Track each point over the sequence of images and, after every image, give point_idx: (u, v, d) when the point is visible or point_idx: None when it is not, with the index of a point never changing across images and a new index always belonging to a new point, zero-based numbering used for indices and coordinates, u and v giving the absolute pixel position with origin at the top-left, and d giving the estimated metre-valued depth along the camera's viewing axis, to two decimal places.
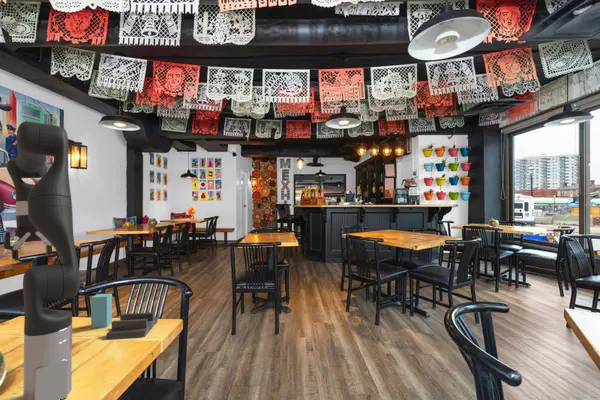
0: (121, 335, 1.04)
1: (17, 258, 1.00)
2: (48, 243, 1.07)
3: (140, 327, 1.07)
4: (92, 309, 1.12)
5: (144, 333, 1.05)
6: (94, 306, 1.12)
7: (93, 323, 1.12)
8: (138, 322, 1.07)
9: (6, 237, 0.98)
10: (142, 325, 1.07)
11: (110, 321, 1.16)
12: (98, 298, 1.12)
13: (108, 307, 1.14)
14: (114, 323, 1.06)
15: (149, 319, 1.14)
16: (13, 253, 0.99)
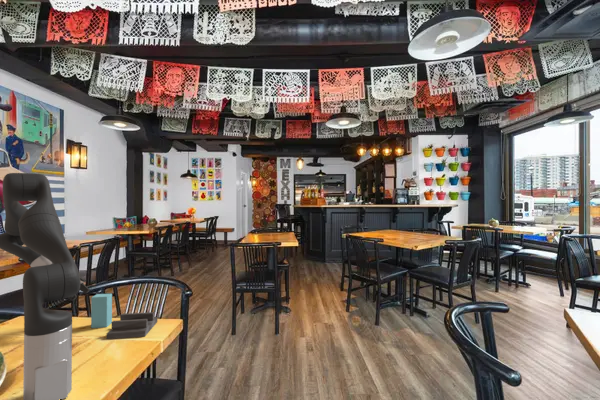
0: (121, 335, 1.04)
1: (75, 295, 1.09)
2: (81, 282, 1.17)
3: (140, 327, 1.07)
4: (92, 309, 1.12)
5: (144, 333, 1.05)
6: (94, 306, 1.12)
7: (93, 323, 1.12)
8: (138, 322, 1.07)
9: None
10: (142, 325, 1.07)
11: (110, 321, 1.16)
12: (98, 298, 1.12)
13: (108, 307, 1.14)
14: (114, 323, 1.06)
15: (149, 319, 1.14)
16: None
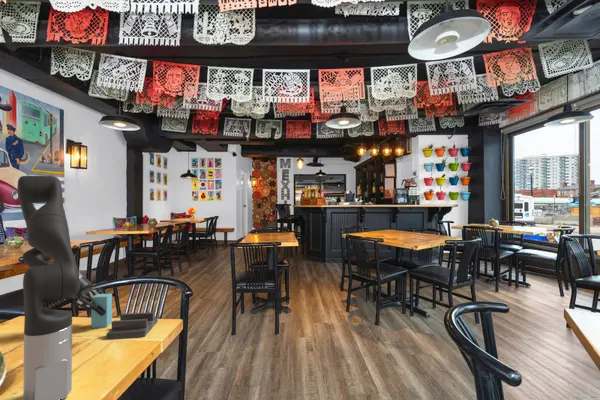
0: (121, 335, 1.04)
1: (104, 310, 1.12)
2: None
3: (140, 327, 1.07)
4: None
5: (144, 333, 1.05)
6: None
7: (93, 323, 1.12)
8: (138, 322, 1.07)
9: (85, 301, 1.08)
10: (142, 325, 1.07)
11: (110, 321, 1.16)
12: (98, 298, 1.12)
13: (108, 307, 1.14)
14: (114, 323, 1.06)
15: (149, 319, 1.14)
16: (99, 309, 1.11)
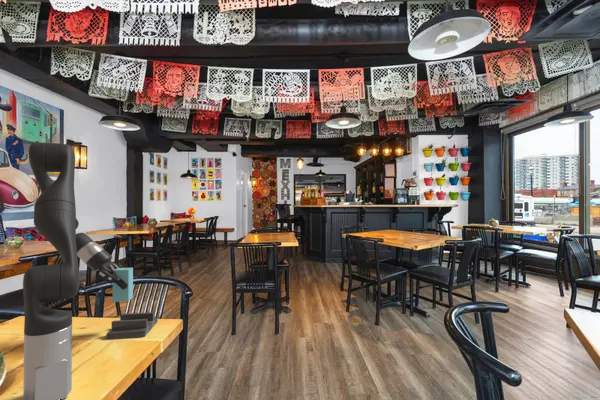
0: (121, 335, 1.04)
1: (126, 284, 1.10)
2: None
3: (140, 327, 1.07)
4: None
5: (144, 333, 1.05)
6: None
7: (115, 297, 1.09)
8: (138, 322, 1.07)
9: (107, 273, 1.05)
10: (142, 325, 1.07)
11: (131, 296, 1.13)
12: (120, 271, 1.09)
13: (129, 281, 1.11)
14: (114, 323, 1.06)
15: (149, 319, 1.14)
16: (121, 282, 1.08)
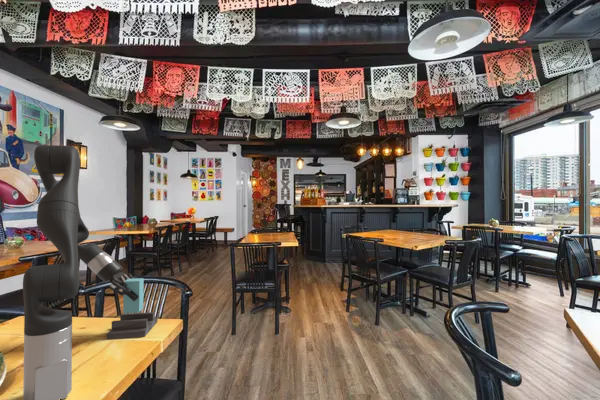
0: (121, 335, 1.04)
1: (137, 295, 1.09)
2: None
3: (140, 327, 1.07)
4: None
5: (144, 333, 1.05)
6: None
7: (125, 308, 1.08)
8: (138, 322, 1.07)
9: (118, 284, 1.04)
10: (142, 325, 1.07)
11: (142, 307, 1.12)
12: (131, 282, 1.08)
13: (140, 292, 1.10)
14: (114, 323, 1.06)
15: (149, 319, 1.14)
16: (131, 293, 1.07)
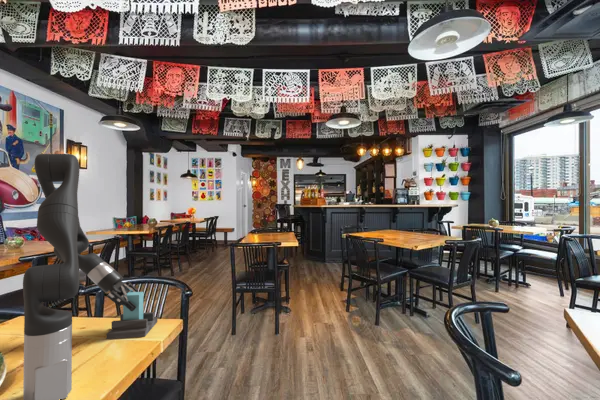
0: (121, 335, 1.04)
1: None
2: None
3: (140, 327, 1.07)
4: (124, 308, 1.08)
5: (144, 333, 1.05)
6: None
7: None
8: (138, 322, 1.07)
9: (116, 294, 1.04)
10: (142, 325, 1.07)
11: None
12: (130, 296, 1.08)
13: (140, 306, 1.10)
14: (114, 323, 1.06)
15: (149, 319, 1.14)
16: (129, 304, 1.06)
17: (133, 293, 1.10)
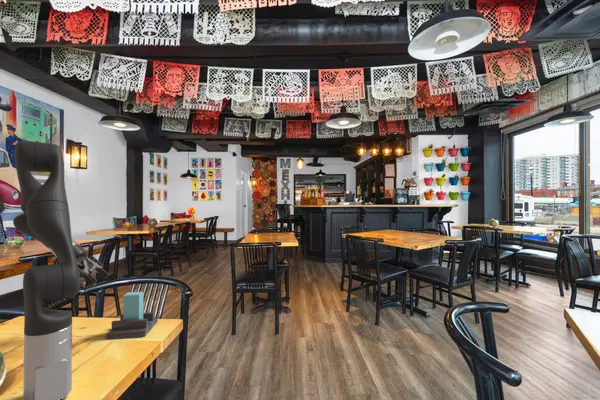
0: (121, 335, 1.04)
1: (95, 279, 1.05)
2: (100, 266, 1.13)
3: (140, 327, 1.07)
4: (124, 308, 1.08)
5: (144, 333, 1.05)
6: (126, 305, 1.08)
7: None
8: (138, 322, 1.07)
9: None
10: (142, 325, 1.07)
11: None
12: (130, 296, 1.08)
13: (140, 306, 1.10)
14: (114, 323, 1.06)
15: (149, 319, 1.14)
16: (89, 277, 1.04)
17: (133, 293, 1.10)
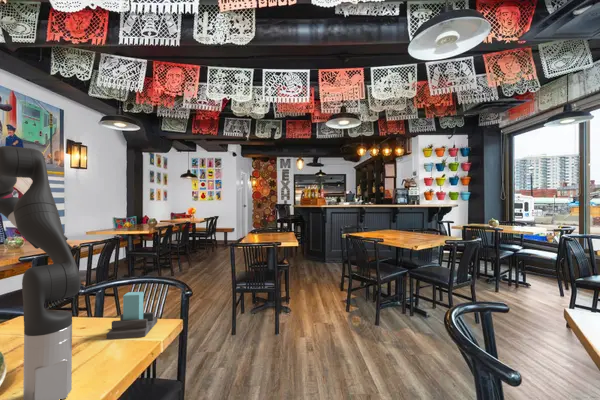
0: (121, 335, 1.04)
1: None
2: None
3: (140, 327, 1.07)
4: (124, 308, 1.08)
5: (144, 333, 1.05)
6: (126, 305, 1.08)
7: None
8: (138, 322, 1.07)
9: None
10: (142, 325, 1.07)
11: None
12: (130, 296, 1.08)
13: (140, 306, 1.10)
14: (114, 323, 1.06)
15: (149, 319, 1.14)
16: None
17: (133, 293, 1.10)
